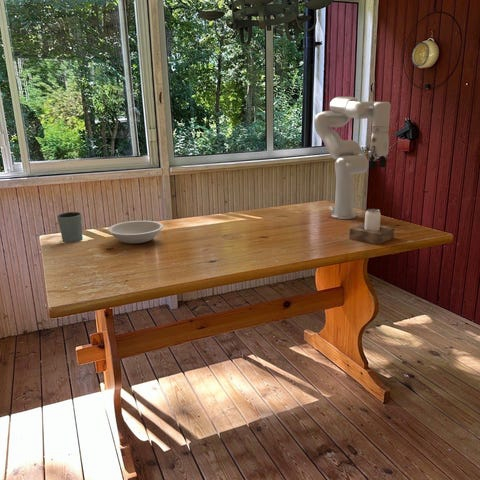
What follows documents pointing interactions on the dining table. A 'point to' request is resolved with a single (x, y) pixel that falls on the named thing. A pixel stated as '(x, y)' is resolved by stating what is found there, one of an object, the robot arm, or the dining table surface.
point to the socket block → (371, 234)
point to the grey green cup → (70, 226)
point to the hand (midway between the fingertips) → (377, 168)
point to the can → (372, 220)
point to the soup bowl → (135, 231)
